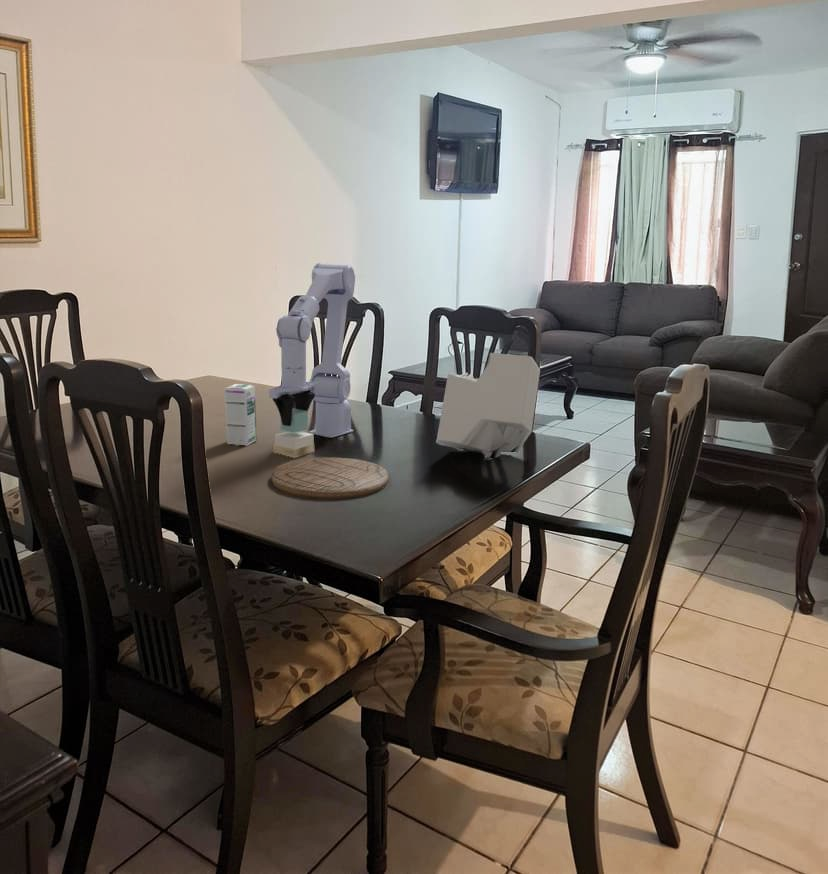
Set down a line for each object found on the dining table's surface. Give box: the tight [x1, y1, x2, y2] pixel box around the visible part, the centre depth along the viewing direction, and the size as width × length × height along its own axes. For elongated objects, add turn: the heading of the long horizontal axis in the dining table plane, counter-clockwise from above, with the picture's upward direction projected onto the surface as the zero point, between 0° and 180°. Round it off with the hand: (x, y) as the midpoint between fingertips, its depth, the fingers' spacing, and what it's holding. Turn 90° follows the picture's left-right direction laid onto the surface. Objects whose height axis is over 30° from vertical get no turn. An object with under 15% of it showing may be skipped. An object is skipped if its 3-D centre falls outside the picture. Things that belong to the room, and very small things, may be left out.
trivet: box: [271, 457, 389, 500], centre depth 169 cm, size 25×25×2 cm
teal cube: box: [280, 407, 309, 433], centre depth 187 cm, size 4×4×4 cm
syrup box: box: [224, 383, 258, 447], centre depth 195 cm, size 6×6×14 cm
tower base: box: [272, 443, 315, 459], centre depth 189 cm, size 7×7×2 cm
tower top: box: [274, 431, 315, 450], centre depth 188 cm, size 6×6×2 cm
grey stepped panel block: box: [435, 352, 541, 459], centre depth 188 cm, size 20×16×25 cm
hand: (293, 423), depth 187 cm, fingers closed on teal cube, 4 cm apart
